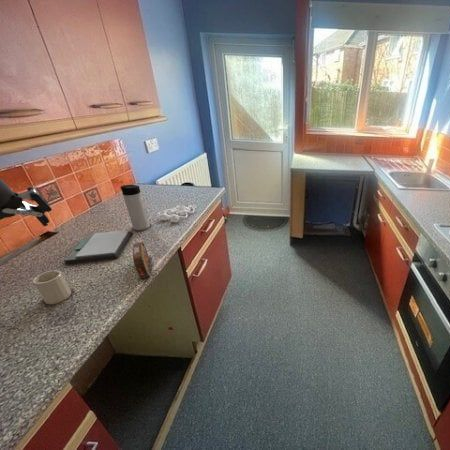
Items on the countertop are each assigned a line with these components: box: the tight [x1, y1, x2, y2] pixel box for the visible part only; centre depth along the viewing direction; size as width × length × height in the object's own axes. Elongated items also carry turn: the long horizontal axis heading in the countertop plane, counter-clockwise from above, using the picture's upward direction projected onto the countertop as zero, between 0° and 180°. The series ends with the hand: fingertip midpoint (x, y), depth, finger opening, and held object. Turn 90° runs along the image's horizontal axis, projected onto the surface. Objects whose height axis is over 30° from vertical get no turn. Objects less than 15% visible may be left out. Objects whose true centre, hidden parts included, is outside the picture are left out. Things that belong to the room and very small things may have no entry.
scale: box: [63, 229, 133, 265], centre depth 93 cm, size 15×18×3 cm
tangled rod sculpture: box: [156, 204, 198, 223], centre depth 121 cm, size 19×14×4 cm
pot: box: [32, 269, 72, 305], centre depth 70 cm, size 6×6×8 cm
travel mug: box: [120, 184, 151, 232], centre depth 104 cm, size 6×7×20 cm
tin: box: [132, 241, 151, 279], centre depth 83 cm, size 15×3×8 cm, turn 30°
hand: (21, 231), depth 57 cm, fingers open, 8 cm apart
